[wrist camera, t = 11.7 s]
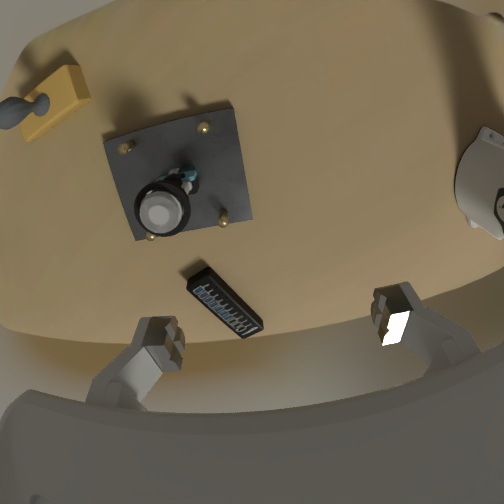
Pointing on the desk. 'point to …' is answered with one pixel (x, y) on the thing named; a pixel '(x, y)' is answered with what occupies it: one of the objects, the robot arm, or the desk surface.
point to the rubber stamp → (46, 103)
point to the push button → (166, 203)
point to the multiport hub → (224, 303)
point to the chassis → (185, 167)
